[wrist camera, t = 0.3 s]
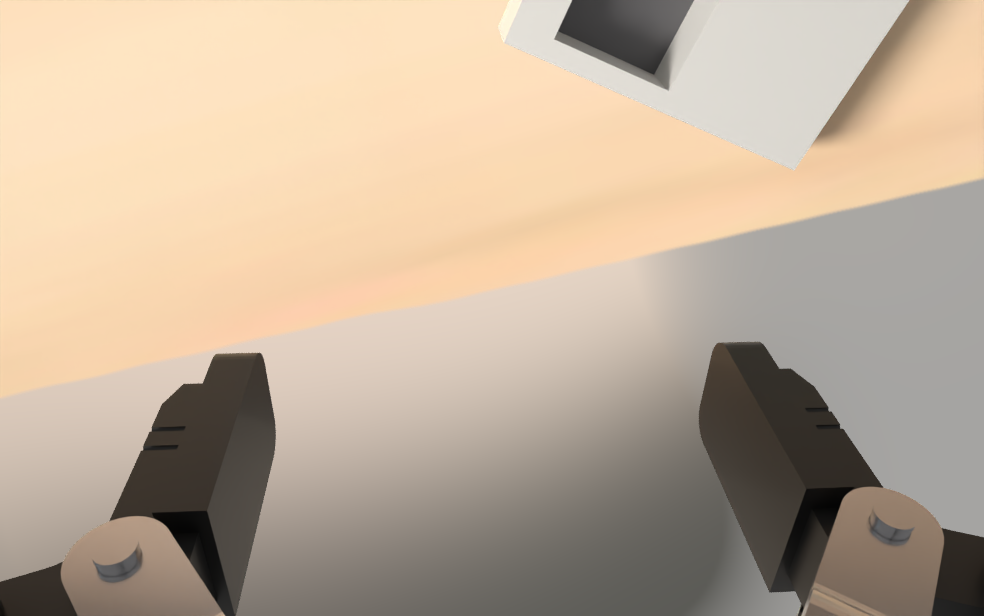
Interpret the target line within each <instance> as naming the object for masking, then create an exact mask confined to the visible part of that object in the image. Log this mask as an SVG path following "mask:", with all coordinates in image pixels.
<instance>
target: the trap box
mask: <svg viewBox="0 0 984 616" xmlns="http://www.w3.org/2000/svg"><path fill="white" fill-rule="evenodd" d="M908 2H909V0H509V3H508V5H507V7H506V10H505V12H504V14H503V17H502V19H501V22H500V24H499V26H498V29H499V31H500V34H501V37H502V39H503V42H504V43H505V44H508V45H510V46H512V47H514V48H517V49H519V50H521V51H524V52H526V53H528V54H530V55H533V56H535V57H537V58H540V59H542V60H544V61H546V62H549V63H551V64H553V65H555V66H558V67H560V68H562V69H565V70H567V71H569V72H571V73H574V74H576V75H578V76H580V77H583V78H585V79H587V80H590V81H592V82H594V83H596V84H599V85H601V86H603V87H605V88H608V89H610V90H612V91H615V92H617V93H619V94H621V95H624V96H626V97H628V98H631V99H633V100H635V101H637V102H640V103H642V104H644V105H646V106H649V107H651V108H653V109H656V110H658V111H660V112H662V113H665V114H667V115H669V116H671V117H674V118H676V119H678V120H681V121H683V122H685V123H687V124H690V125H692V126H694V127H696V128H699V129H701V130H703V131H706V132H708V133H710V134H712V135H715V136H717V137H719V138H722V139H724V140H726V141H728V142H731V143H733V144H735V145H737V146H740V147H742V148H744V149H747V150H749V151H751V152H753V153H756V154H758V155H760V156H762V157H765V158H767V159H769V160H772V161H774V162H776V163H778V164H781V165H783V166H785V167H787V168H790V169H792V170H795V168H796V167H797V166H798V164H799V163H800V161H801V160H802V158H803V157H804V155H805V154H806V152H807V151H808V149H809V148H810V146H811V145H812V143H813V142H814V140H815V139H816V137H817V136H818V134H819V133H820V132H821V130H822V129H823V127H824V126H825V124H826V123H827V121H828V120H829V118H830V117H831V115H832V114H833V112H834V111H835V109H836V108H837V106H838V105H839V103H840V102H841V101H842V99H843V98H844V96H845V95H846V93H847V92H848V90H849V89H850V87H851V86H852V84H853V83H854V81H855V80H856V78H857V77H858V75H859V74H860V72H861V71H862V70H863V68H864V67H865V65H866V64H867V62H868V61H869V59H870V58H871V56H872V55H873V53H874V52H875V50H876V49H877V47H878V46H879V44H880V43H881V41H882V40H883V39H884V37H885V36H886V34H887V33H888V31H889V30H890V28H891V27H892V25H893V24H894V22H895V21H896V19H897V18H898V16H899V15H900V13H901V12H902V10H903V9H904V7H905V6H906V5H907V3H908Z"/></svg>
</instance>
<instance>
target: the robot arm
mask: <svg viewBox="0 0 984 616" xmlns="http://www.w3.org/2000/svg"><path fill="white" fill-rule="evenodd" d="M699 428H700V434H701V438H702V441H703V444H704V446H705V448H706V450H707V453H708V455H709V457H710V460H711V461H712V464H713V466H714V469H715V470H716V473H717V475H718V478H719V480H720V482H721V484H722V487H723V489H724V491H725V493H726V496H727V498H728V500H729V502H730V504H731V507H732V509H733V511H734V513H735V516H736V518H737V520H738V522H739V525H740V527H741V529H742V531H743V534H744V536H745V538H746V541H747V543H748V545H749V547H750V550H751V552H752V554H753V556H754V559H755V561H756V563H757V565H758V568H759V570H760V572H761V574H762V576H763V579H764V581H765V583H766V585H767V588H768V590H769V592H788V591H796V593H797V596H798V598H799V600H800V602H801V606H800V608H799V611H798V613H797V616H984V537H979V536H975V535H970V534H965V533H960V532H956V531H951V530H947V529H943V528H941V527H940V525H939V523H938V521H937V520H936V519H935V517H934V516H933V515H932V514H931V513H930V512H929V511H928V510H927V509H926V508H924V507H923V506H922V505H920V504H919V503H918V502H916V501H915V500H913V499H911V498H910V497H907V496H906V495H903V494H901V493H899V492H896V491H893V490H889V489H885V488H883V486H882V485H881V484H880V482H879V481H878V479H877V478H876V476H875V475H874V473H873V472H872V470H871V469H870V467H869V466H868V465H867V463H866V462H865V460H864V459H863V457H862V456H861V454H860V453H859V451H858V450H857V448H856V447H855V446H854V444H853V443H852V441H851V440H850V438H849V437H848V435H847V434H846V432H845V431H844V429H840V424H839V422H838V421H837V419H836V418H835V416H834V415H833V413H832V412H829V411H828V406H827V405H826V403H825V402H824V400H823V399H822V397H821V396H820V394H819V393H818V391H817V390H816V389H815V387H814V386H813V385H811V384H810V383H809V382H807V381H806V380H805V379H803V378H802V377H801V376H799V375H798V374H797V373H795V372H794V371H793V370H792V369H779V368H778V366H777V364H776V363H775V361H774V360H773V358H772V357H771V355H770V354H769V352H768V351H767V349H766V347H765V346H764V345H763V344H762V343H761V342H734V343H733V342H732V343H731V342H729V343H717V344H716V346H715V347H714V349H713V352H712V356H711V360H710V365H709V369H708V373H707V378H706V382H705V387H704V391H703V396H702V400H701V404H700V410H699ZM275 431H276V430H275V419H274V413H273V408H272V402H271V396H270V391H269V385H268V379H267V374H266V368H265V363H264V359H263V356H262V354H261V353H236V354H216V355H215V356H214V357H213V359H212V362H211V364H210V367H209V369H208V372H207V374H206V377H205V379H204V382H203V384H183V385H182V386H181V387H180V388H179V389H178V390H177V391H176V392H175V393H174V394H173V395H172V396H170V397H169V399H167V400H166V401H165V402H164V403H163V404H162V406H161V408H160V410H159V412H158V414H157V417H156V419H155V421H154V423H153V426H152V432H149V434H148V437H147V439H146V441H145V443H144V446H143V451H141V452H140V454H139V457H138V459H137V461H136V463H135V466H134V468H133V470H132V472H131V474H130V477H129V479H128V481H127V483H126V486H125V488H124V490H123V492H122V495H121V497H120V499H119V501H118V503H117V506H116V508H115V510H114V512H113V514H112V517H111V519H110V521H109V522H107V523H104V524H102V525H100V526H98V527H97V528H94V529H93V530H91V531H90V532H88V533H87V534H85V535H84V536H83V537H81V538H80V539H79V540H78V541H77V542H76V543H75V544H74V545H73V546H72V548H71V549H70V550H69V552H68V553H67V555H66V556H65V559H64V561H63V562H61V563H59V564H57V565H55V566H52V567H49V568H46V569H43V570H39V571H36V572H33V573H29V574H26V575H23V576H19V577H16V578H12V579H9V580H6V581H2V582H0V616H236V612H237V608H238V604H239V600H240V596H241V591H242V587H243V583H244V578H245V574H246V570H247V566H248V562H249V558H250V554H251V549H252V545H253V541H254V537H255V533H256V529H257V524H258V520H259V515H260V512H261V507H262V503H263V498H264V495H265V491H266V487H267V482H268V478H269V474H270V470H271V466H272V461H273V457H274V451H275V439H276V434H275V433H276V432H275Z"/></svg>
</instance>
